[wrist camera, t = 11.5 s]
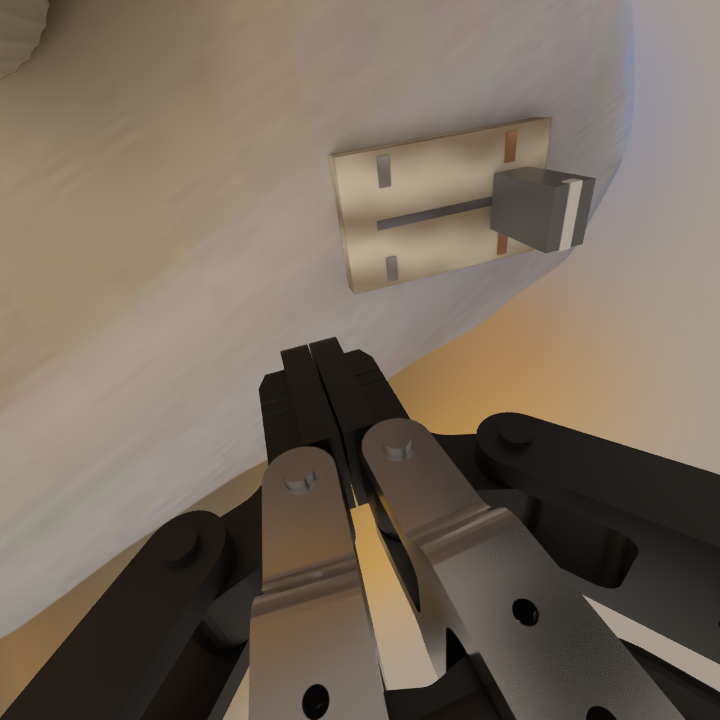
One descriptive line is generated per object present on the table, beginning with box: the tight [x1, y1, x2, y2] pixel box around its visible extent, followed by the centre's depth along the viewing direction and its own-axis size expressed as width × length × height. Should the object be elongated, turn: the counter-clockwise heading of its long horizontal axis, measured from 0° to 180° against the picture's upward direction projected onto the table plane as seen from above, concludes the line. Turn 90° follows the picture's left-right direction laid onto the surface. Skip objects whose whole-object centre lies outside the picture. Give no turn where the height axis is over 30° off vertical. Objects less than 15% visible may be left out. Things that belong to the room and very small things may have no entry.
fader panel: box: [329, 117, 552, 295], centre depth 36 cm, size 12×20×2 cm, turn 98°
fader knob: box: [490, 166, 596, 253], centre depth 33 cm, size 5×4×8 cm
